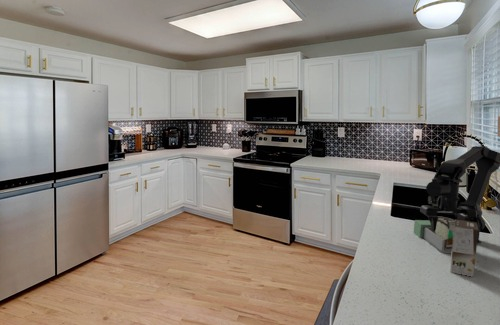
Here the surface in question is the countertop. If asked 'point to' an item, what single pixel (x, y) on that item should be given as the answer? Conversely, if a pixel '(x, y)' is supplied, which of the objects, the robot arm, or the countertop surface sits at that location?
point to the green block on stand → (429, 235)
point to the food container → (445, 230)
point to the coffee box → (464, 247)
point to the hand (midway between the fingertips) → (445, 231)
